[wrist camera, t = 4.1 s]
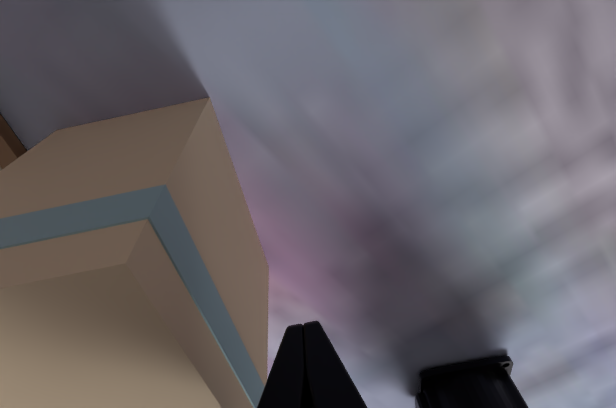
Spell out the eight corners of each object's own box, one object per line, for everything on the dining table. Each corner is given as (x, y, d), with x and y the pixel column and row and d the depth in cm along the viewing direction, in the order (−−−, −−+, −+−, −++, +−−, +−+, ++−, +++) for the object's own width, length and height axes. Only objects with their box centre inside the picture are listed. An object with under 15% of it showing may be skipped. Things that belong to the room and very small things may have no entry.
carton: (210, 95, 13) (126, 260, 6) (269, 267, 18) (268, 474, 11) (55, 128, 13) (-230, 331, 6) (156, 289, 18) (76, 508, 11)
